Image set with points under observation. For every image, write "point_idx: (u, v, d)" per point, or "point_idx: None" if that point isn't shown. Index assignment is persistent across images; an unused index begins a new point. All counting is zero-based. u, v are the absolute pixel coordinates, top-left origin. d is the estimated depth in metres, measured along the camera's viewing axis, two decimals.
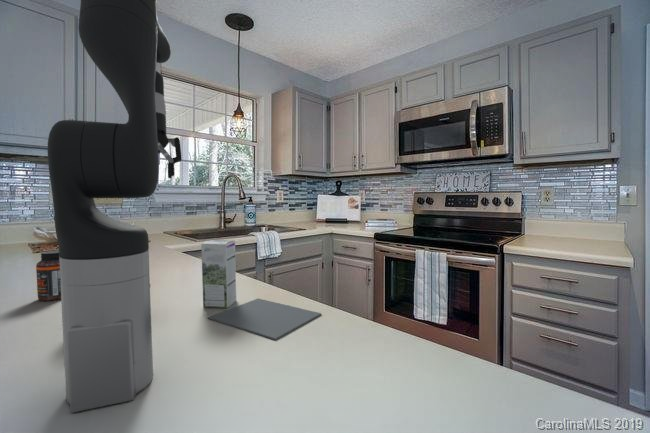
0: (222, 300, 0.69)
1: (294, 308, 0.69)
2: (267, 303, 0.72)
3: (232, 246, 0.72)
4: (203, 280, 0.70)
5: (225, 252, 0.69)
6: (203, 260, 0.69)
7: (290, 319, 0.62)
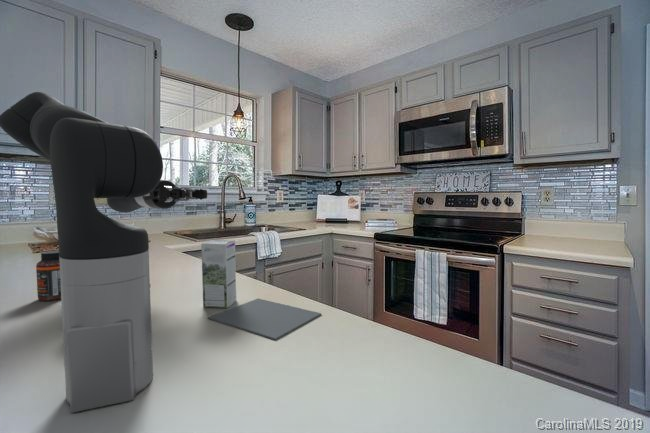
0: (222, 300, 0.69)
1: (294, 308, 0.69)
2: (267, 303, 0.72)
3: (232, 246, 0.72)
4: (203, 280, 0.70)
5: (225, 252, 0.69)
6: (203, 260, 0.69)
7: (290, 319, 0.62)
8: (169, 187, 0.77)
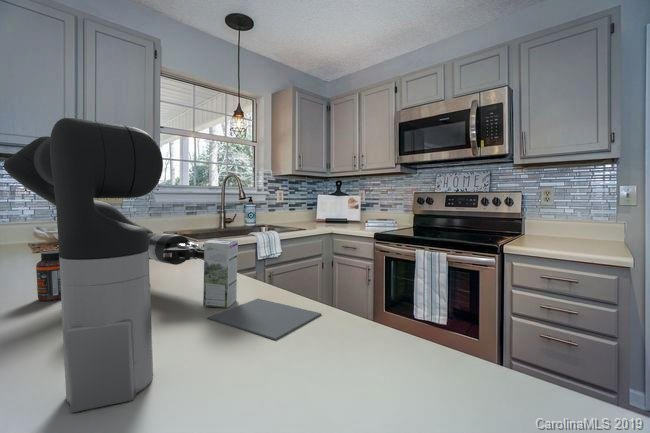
0: (222, 300, 0.69)
1: (294, 308, 0.69)
2: (267, 303, 0.72)
3: (235, 246, 0.72)
4: (204, 279, 0.69)
5: (228, 252, 0.69)
6: (205, 259, 0.69)
7: (290, 319, 0.62)
8: (190, 246, 0.76)
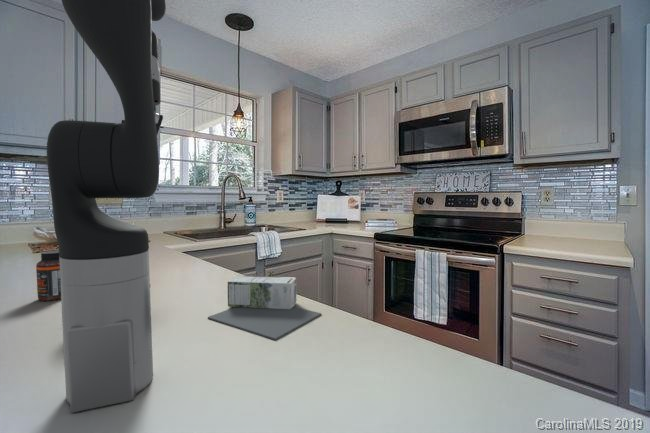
0: (235, 302, 0.69)
1: (294, 308, 0.69)
2: None
3: None
4: (254, 283, 0.69)
5: (282, 308, 0.68)
6: (274, 285, 0.68)
7: (290, 319, 0.62)
8: None
